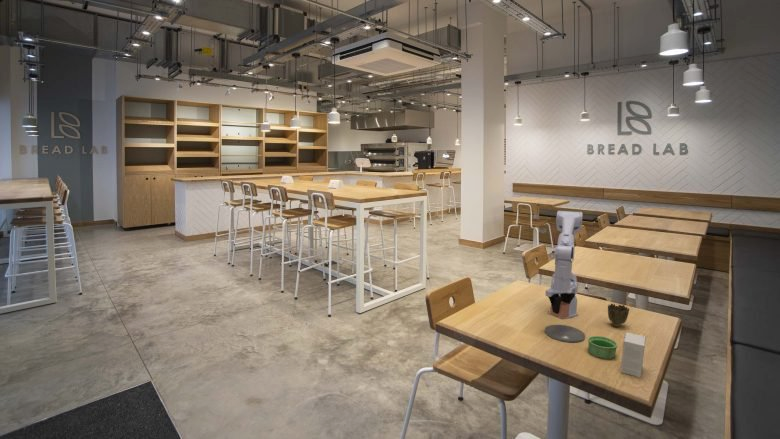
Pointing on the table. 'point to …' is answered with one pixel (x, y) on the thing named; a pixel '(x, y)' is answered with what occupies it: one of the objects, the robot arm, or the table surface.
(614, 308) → the cup
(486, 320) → the table surface
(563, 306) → the block
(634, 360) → the small box
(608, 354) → the ramekin
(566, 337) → the plate
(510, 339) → the table surface
